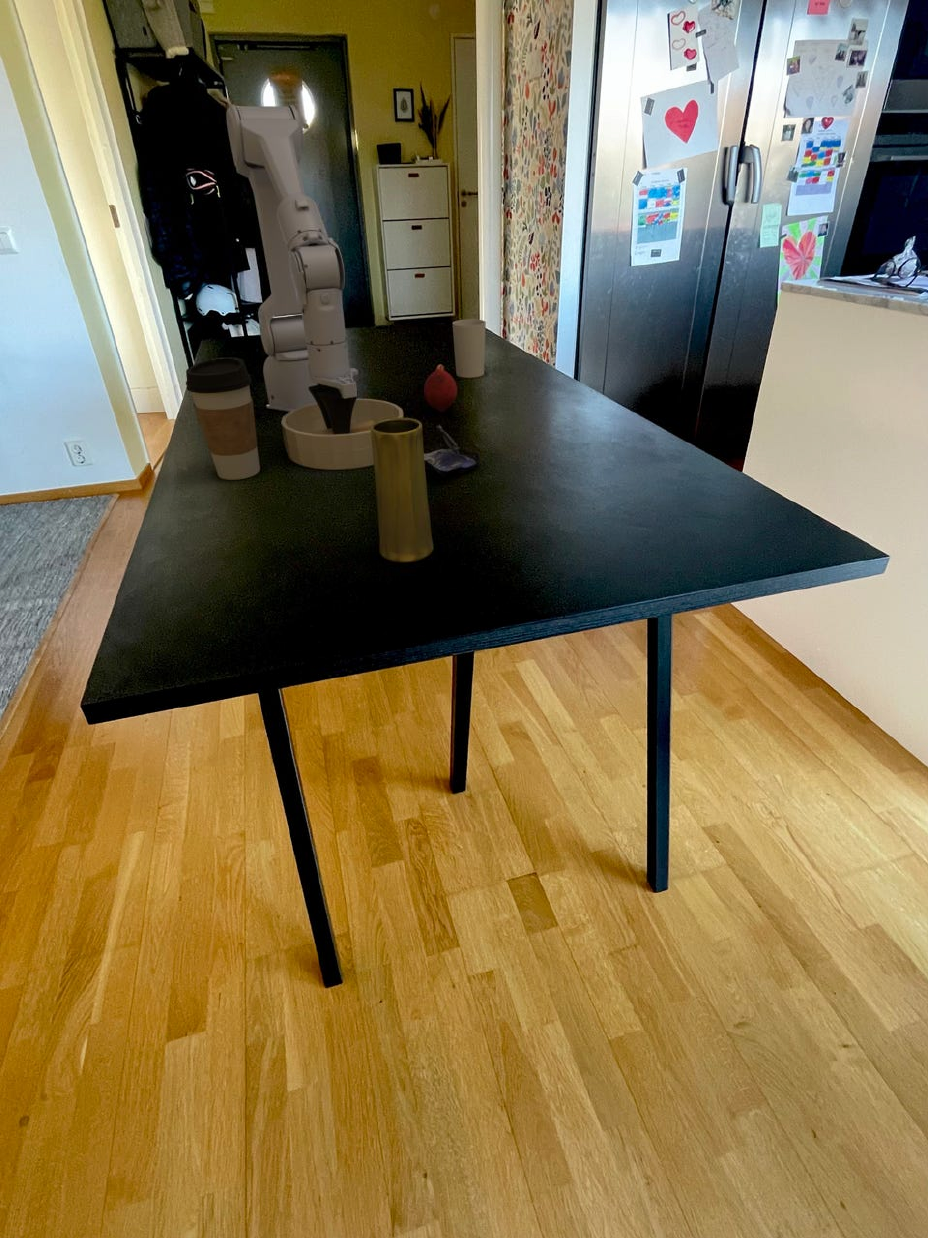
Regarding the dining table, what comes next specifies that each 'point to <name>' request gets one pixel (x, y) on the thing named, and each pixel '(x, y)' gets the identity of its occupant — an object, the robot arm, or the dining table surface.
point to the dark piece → (450, 457)
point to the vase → (401, 490)
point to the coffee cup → (226, 415)
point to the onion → (440, 389)
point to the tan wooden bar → (353, 428)
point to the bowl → (333, 436)
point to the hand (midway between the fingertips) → (338, 434)
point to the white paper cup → (469, 347)
